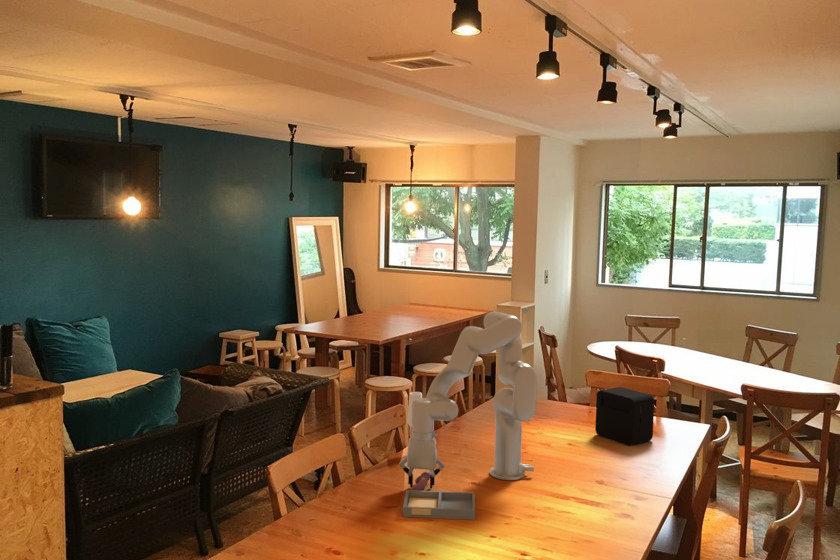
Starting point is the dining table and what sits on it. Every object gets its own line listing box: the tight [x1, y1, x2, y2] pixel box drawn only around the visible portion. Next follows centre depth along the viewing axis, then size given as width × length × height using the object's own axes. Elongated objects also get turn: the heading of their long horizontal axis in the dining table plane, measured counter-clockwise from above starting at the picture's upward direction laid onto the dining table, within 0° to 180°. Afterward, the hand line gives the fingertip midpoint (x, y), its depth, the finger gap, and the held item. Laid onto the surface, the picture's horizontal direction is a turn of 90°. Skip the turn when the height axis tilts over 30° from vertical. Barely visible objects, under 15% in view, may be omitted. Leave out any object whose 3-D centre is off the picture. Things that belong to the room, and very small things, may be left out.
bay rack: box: [402, 489, 476, 521], centre depth 225 cm, size 22×14×3 cm, turn 86°
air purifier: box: [595, 386, 655, 447], centre depth 301 cm, size 20×15×20 cm
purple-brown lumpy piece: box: [410, 471, 431, 491], centre depth 241 cm, size 10×5×7 cm, turn 170°
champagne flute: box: [406, 391, 423, 428], centre depth 277 cm, size 7×7×24 cm
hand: (421, 486), depth 241 cm, fingers closed on purple-brown lumpy piece, 6 cm apart
